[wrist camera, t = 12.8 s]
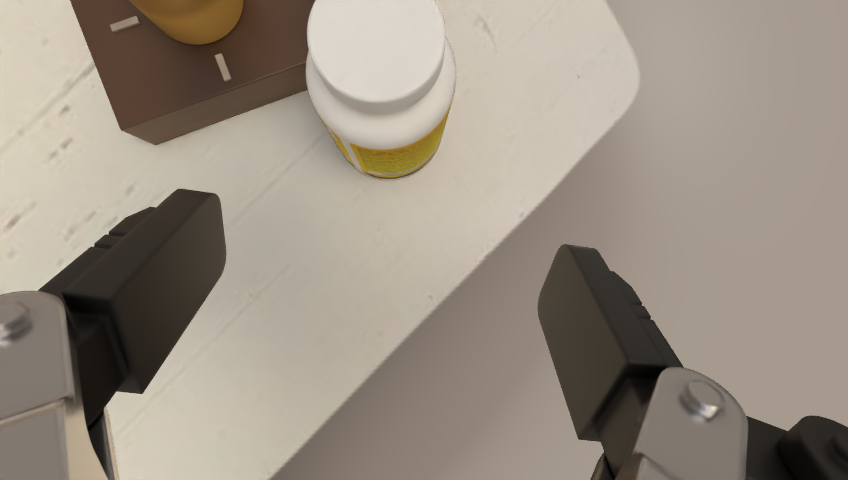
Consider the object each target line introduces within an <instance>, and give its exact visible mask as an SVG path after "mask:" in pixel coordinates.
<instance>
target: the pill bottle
mask: <svg viewBox="0 0 848 480" xmlns="http://www.w3.org/2000/svg"><path fill="white" fill-rule="evenodd" d="M307 42H308V48H309V51H308V56H307V61H306V82H307V88H308V92H309V95H310V98H311V101H312V103H313V106H314V108H315V110H316V112H317V113H318V115H319V117H320V119H321V120H322V122H323V123H324V125H325V127H326V128H327V130H328V131H329V133H330V135H331V136H332V138H333V139H334V141H335V143H336V144H337V146H338V147H339V149H340V150H341V152H342V153H343V155H344V156H345V158H346V159H347V160H348V161H349V162H350V163H351V164H352V165H353V166H354V167H355V168H356V169H357V170H359V171H360V172H362V173H364V174H365V175H368V176H370V177H373V178H376V179H380V180H398V179H403V178H406V177H409V176H411V175H413V174H415V173H416V172H418V171H420V170H421V169H422V168H423V167H424V166H426V165H427V163H428V162H429V161H430V160H431V159H432V157H433V156H434V154H435V152H436V151H437V148H438V146H439V144H440V141H441V137H442V134H443V131H444V127H445V124H446V120H447V117H448V113H449V110H450V107H451V103H452V100H453V96H454V92H455V85H456V65H455V58H454V54H453V51H452V48H451V45H450V43H449V41H448V39H447V37H446V33H445V25H444V20H443V16H442V13H441V11H440V9H439V6H438V4H437V3H436V1H435V0H316V1H315V2H314V5H313V7H312V9H311V12H310V15H309V19H308V26H307Z"/></svg>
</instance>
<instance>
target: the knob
mask: <svg viewBox="0 0 848 480" xmlns="http://www.w3.org/2000/svg"><path fill="white" fill-rule="evenodd" d="M129 1H130V2H131V3H132V4H133V5H134V6H136V7H137V8H138V9H139V10H140V11H141V12H142V13H143V14H144V15H145V16H146V17H148V18H149V19H150V20H151V21H152V22H153V23H154V24H155V25H156V26H157V27H158V28H160V29H161V30H162V31H163V32H164V33H165V34H166V35H168V36H169V37H171V38H173V39H175V40H177V41H179V42H182V43H186V44H192V45H202V44H208V43H212V42H215V41H217V40H219V39H221V38H223V37H224V36H226V35H227V34H228V33H229V32H230V31H231V30H232V29H233V28H234V27H235V25H236V24H237V22H238V20H239V18H240V16H241V13H242V10H243V1H244V0H129Z"/></svg>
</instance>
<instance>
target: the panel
mask: <svg viewBox="0 0 848 480" xmlns="http://www.w3.org/2000/svg"><path fill="white" fill-rule="evenodd" d="M70 1H71V4H72V6H73V9H74V12H75V14H76V17H77V19H78V22H79V24H80V27H81V29H82V32H83V35H84V37H85V40H86V42H87V45H88V47H89V50H90V52H91V55H92V58H93V60H94V63H95V65H96V68H97V70H98V73H99V75H100V78H101V81H102V83H103V86H104V88H105V91H106V93H107V96H108V98H109V101H110V104H111V106H112V109H113V111H114V114H115V116H116V119H117V122H118V124H119V127H120V129H121V130H122V131H124V132H127V133H129V134H131V135H133V136H136V137H138V138H140V139H143V140H145V141H147V142H150V143H152V144H154V145H156V144H159V143H162V142H165V141H167V140H170V139H173V138H175V137H178V136H181V135H184V134H186V133H189V132H192V131H194V130H197V129H200V128H203V127H205V126H208V125H211V124H213V123H216V122H219V121H222V120H224V119H227V118H230V117H232V116H235V115H238V114H241V113H243V112H246V111H249V110H252V109H254V108H257V107H260V106H262V105H265V104H268V103H271V102H273V101H276V100H279V99H281V98H284V97H287V96H290V95H292V94H295V93H298V92H300V91H303V90H306V89H308V88H307V82H306V61H307V56H308V51H309V48H308V42H307V26H308V19H309V15H310V12H311V9H312V7H313V5H314V2H315V1H316V0H244V1H243V10H242V13H241V16H240V18H239V20H238V22H237V24H236V25H235V27H234V28H233V29H232V30H231V31H230V32H229V33H228V34H227V35H226V36H224V37H223V38H221V39H219V40H217V41H215V42H212V43H208V44H202V45H192V44H186V43H182V42H179V41H177V40H175V39H173V38H171V37H169V36H168V35H166V34H165V33H164V32H163V31H162V30H161V29H160V28H158V27H157V26H156V25H155V24H154V23H153V22H152V21H151V20H150V19H149V18H148V17H146V16H145V15H144V14H143V13H142V12H141V11H140V10H139V9H138V8H137V7H136V6H134V5H133V4H132V3H131V2H130V1H129V0H70Z"/></svg>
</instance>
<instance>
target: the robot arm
mask: <svg viewBox="0 0 848 480" xmlns="http://www.w3.org/2000/svg"><path fill="white" fill-rule="evenodd" d="M225 262H226V244H225V236H224V227H223V219H222V210H221V203H220V199H219V197H218V196H217V195H216V194H214V193H208V192H200V191H193V190H186V189H177V190H176V191H174V192H173V193H172V194H171V195H170V196H169V197H168V198H166V199H165V200H164V201H163V202H162V203H161V204H160V205H159V206H157V207H156V208H155V207H149V208H147V209H144V210H142V211H140V212H138V213H135V214H133V215H131V216H128V217H126V218H125V219H124V220H122V221H121V222H120V223H119V224H118V225H116V226H115V227H114V228H113V229H112V230H110V231H109V235H104V236H103V237H102V238H101V239H100V240H98V241H97V242H96V243H95V246H94V247H90V248H89V249H87V250H86V251H85V252H84V253H83V254H81V255H80V256H79V257H78V258H77V259H75V260H74V261H73V262H72V263H71V264H69V265H68V266H67V267H66V268H65V269H63V270H62V271H61V272H60V273H59V274H57V275H56V276H55V277H54V278H52V279H51V280H50V281H49V282H48V283H46V284H45V285H44V286H43V287H42V288H40V289H39V290H38V291H20V292H12V293H7V294H2V295H0V480H119V474H118V468H117V462H116V456H115V450H114V444H113V438H112V432H111V426H110V420H109V414H108V411H107V409H106V405H107V403H108V402H109V401H110V399H111V398H112V397H113V395H114V394H115V392H116V391H119V392H129V393H138V394H143V392H144V391H145V389H146V388H147V386H148V385H149V383H150V382H151V380H152V379H153V377H154V376H155V374H156V373H157V371H158V370H159V368H160V367H161V365H162V364H163V362H164V361H165V359H166V358H167V356H168V355H169V353H170V352H171V350H172V349H173V347H174V346H175V344H176V343H177V341H178V340H179V338H180V337H181V335H182V334H183V332H184V331H185V329H186V328H187V326H188V325H189V323H190V322H191V320H192V319H193V317H194V316H195V314H196V313H197V311H198V310H199V308H200V307H201V305H202V304H203V302H204V301H205V299H206V298H207V296H208V295H209V293H210V292H211V290H212V289H213V287H214V286H215V284H216V283H217V281H218V280H219V278H220V277H221V275H222V272H223V270H224V266H225ZM538 317H539V320H540V323H541V326H542V329H543V332H544V335H545V339H546V341H547V345H548V348H549V351H550V354H551V357H552V360H553V363H554V366H555V369H556V372H557V375H558V378H559V382H560V384H561V388H562V391H563V394H564V397H565V400H566V403H567V406H568V409H569V412H570V415H571V418H572V421H573V424H574V427H575V431H576V434H577V437H578V439H580V440H589V441H599V442H601V444H602V446H603V449H604V453H603V454H602V456H601V457H600V459H599V461H598V462H597V465H596V467H595V470H594V472H593V475H592V477H591V480H848V427H846V426H844V425H842V424H840V423H837V422H835V421H833V420H830V419H827V418H823V417H819V416H806V417H804V418H802V419H801V420H800V421H799V422H798V423H797V424H796V425H795V426H793V427H792V428H791V429H790V430H789V431H786V430H783V429H780V428H778V427H775V426H772V425H770V424H767V423H764V422H762V421H759V420H756V419H753V418H751V417H748V416H746V415H745V413H744V411H743V409H742V407H741V406H740V404H739V403H738V402H737V401H736V400H735V398H734V397H733V396H732V395H731V394H730V393H729V392H728V391H727V390H726V389H724V388H723V387H722V386H721V385H719V384H718V383H716V382H715V381H714V380H712V379H710V378H709V377H707V376H705V375H703V374H701V373H699V372H696V371H694V370H690V369H687V368H684V367H683V365H682V364H681V362H680V361H679V359H678V358H677V356H676V355H675V353H674V351H673V350H672V349H671V347H670V345H669V344H668V342H667V341H666V339H665V338H664V336H663V335H662V333H661V331H660V330H659V328H658V327H657V326H656V324H655V322H654V321H653V320H651V319H650V318H651V316H650V315H649V313H648V311H647V310H646V308H645V307H644V306H642V302H641V301H640V299H639V298H638V296H637V295H636V293H635V291H634V290H633V288H632V287H631V286H630V285H629V284H628V283H626V282H625V281H624V280H623V279H622V278H621V277H620V276H619V275H617V274H616V273H615V272H613V271H610V270H609V268H608V266H607V265H606V263H605V262H604V260H603V258H602V257H601V255H600V253H599V252H598V251H597V250H596V249H594V248H588V247H581V246H574V245H567V244H564V245H562V246H561V247H560V248H559V249H558V251H557V253H556V256H555V258H554V260H553V263H552V265H551V268H550V270H549V273H548V275H547V277H546V280H545V282H544V285H543V287H542V289H541V292H540V296H539V300H538Z"/></svg>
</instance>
